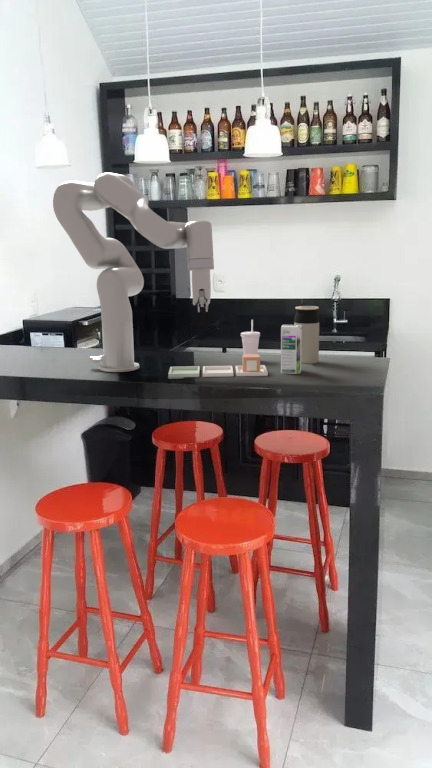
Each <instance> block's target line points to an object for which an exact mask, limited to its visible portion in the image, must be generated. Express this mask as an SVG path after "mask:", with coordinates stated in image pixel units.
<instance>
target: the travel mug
mask: <svg viewBox="0 0 432 768" xmlns="http://www.w3.org/2000/svg"><path fill="white" fill-rule="evenodd" d="M319 307H320V306H316V305H299V306H295V311H296V314H295V315H294V320H293V323H294V324H293V325H302V353H301V364H311V365H315V364H317V363H319V359H320V358H319V355H320V353H319V352H320V350H319V349H320V316H319V314H318V311H319V309H320V308H319Z"/></svg>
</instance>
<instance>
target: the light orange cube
mask: <svg viewBox="0 0 432 768" xmlns="http://www.w3.org/2000/svg"><path fill="white" fill-rule="evenodd" d="M241 356H242V358H241V359H242V361H241V362H242V363H241V366H242V371H243V372H260V365H261V356H260V353H259V354H258V353H257V354H244V353H243V354H242V355H241Z"/></svg>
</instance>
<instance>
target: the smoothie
mask: <svg viewBox="0 0 432 768" xmlns="http://www.w3.org/2000/svg"><path fill="white" fill-rule="evenodd" d="M250 324H251V329H250V331H243V332H240V337H241V342H242V351H243V354H258V350H259V344H260V343H259V341H260V337H261V332H259V331H254V319H251V321H250Z"/></svg>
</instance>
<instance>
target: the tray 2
mask: <svg viewBox="0 0 432 768" xmlns="http://www.w3.org/2000/svg"><path fill="white" fill-rule="evenodd" d="M234 374H235V373H234V369H233V365H203V366H202V378H211V377H212V378H213V377H220V378H221V377H234Z"/></svg>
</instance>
